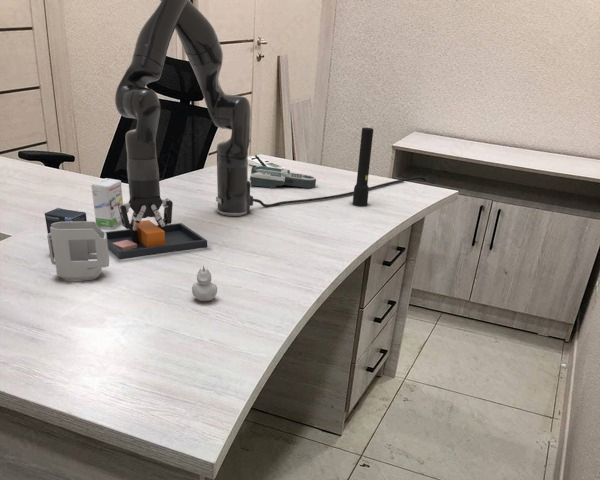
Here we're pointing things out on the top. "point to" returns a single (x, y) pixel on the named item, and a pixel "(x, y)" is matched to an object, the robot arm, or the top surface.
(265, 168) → the communication device
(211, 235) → the top surface
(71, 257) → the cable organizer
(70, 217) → the box
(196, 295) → the rubber duck
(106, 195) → the ink box
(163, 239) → the orange rectangular block
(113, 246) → the tray
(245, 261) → the top surface
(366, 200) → the flashlight
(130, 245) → the pink block
